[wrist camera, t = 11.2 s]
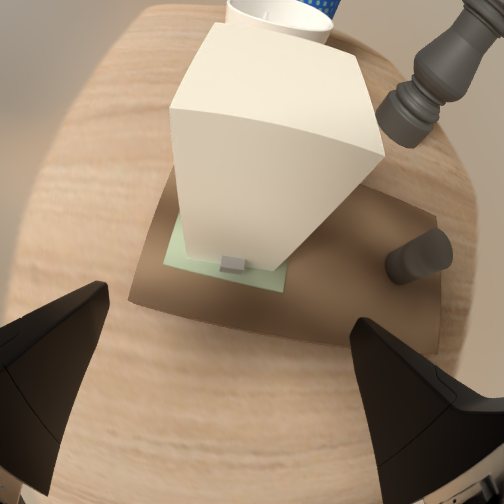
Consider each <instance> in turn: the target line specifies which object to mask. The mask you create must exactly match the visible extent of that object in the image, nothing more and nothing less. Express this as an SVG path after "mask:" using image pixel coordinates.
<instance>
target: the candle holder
mask: <svg viewBox="0 0 504 504" xmlns="http://www.w3.org/2000/svg"><path fill="white" fill-rule="evenodd" d="M462 1H463V3H464V6H463V7H464V9H463V11H462V12H461V13H460V15H459V16H458V18H457V20H456V21H455V22H454V23H453V25H452V26H451V27H450V28H449V29H448V30H447V31H445V32H444V33H442V34H441V35H440V36H438V37H437V38H436V39H434V40H433V41H432V42H431V43H429V44H428V45H427V46H425V47H424V48H423V49H421V50H420V51H419V52H418V53H417V55H416V56H415V59H414V74H413V75H412V81H407V82H402V83H399V84H398V85H397V88H396V90H393V91H390V92H389V93H388V95H387V96H386V97H385V99H384V100H383V102H382V103H381V104H380V106H379V107H378V109H377V110H376V113H375V117H376V120H377V123H378V124H379V126H380V127H381V129H382V130H383V131H384V132H385V133H386V134H387V135H388V136H389V137H390V138H391V139H392V140H393V141H395V142H396V143H398V144H399V145H401V146H404V147H406V148H414V147H416V146H417V145H418V144H419V143H420V142H421V141H422V140H423V139H424V138H425V137H426V136H427V135H428V133H429V132H430V131H431V130H432V129H433V123H436V122H437V121H438V120H439V113H440V105H441V106H443V105H445V102H454V101H457V100H459V99H461V98H462V97H463V96H464V95H465V94H466V92H467V90H468V88H469V86H470V84H471V81H472V79H473V77H474V75H475V73H476V71H477V68H478V66H479V64H480V61H481V59H482V57H483V55H484V54H485V53H486V51H487V50H488V49H489V48H490V46H491V45H492V44H493V43H494V41H495V40H496V39H497V38H500V37H501V36H502V37H503V38H504V0H462Z"/></svg>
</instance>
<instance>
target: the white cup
mask: <svg viewBox="0 0 504 504" xmlns="http://www.w3.org/2000/svg"><path fill="white" fill-rule="evenodd" d="M225 23H226V24H234V25H241V26H248V27H254V28H259V29H265V30H270V31H274V32H279V33H283V34H287V35H291V36H295V37H299V38H303V39H306V40H310V41H313V42H317V43H320V44H323V45H325V43H326V41H327V39H328V37H329V35H330V33H331V31H332V29H333V28H334V24H333V21H332V20H331V19H330V18H329V17H328V16H327V15H325V14H324V13H323V12H321V11H319V10H318V9H316V8H314V7H312V6H310V5H307V4H305V3H302V2H300V1H297V0H227V7H226V16H225Z"/></svg>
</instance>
